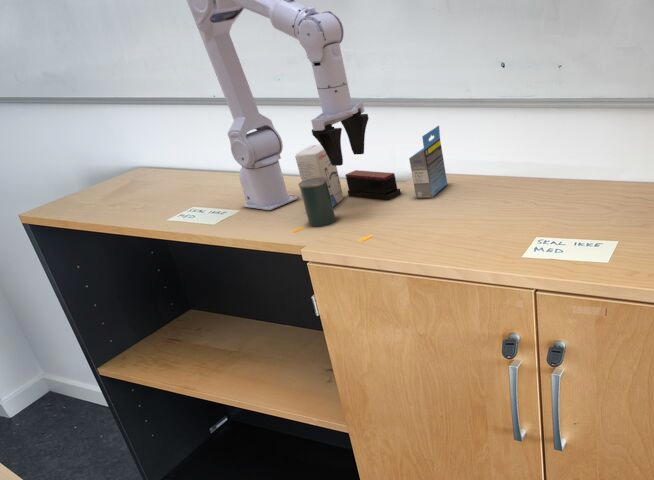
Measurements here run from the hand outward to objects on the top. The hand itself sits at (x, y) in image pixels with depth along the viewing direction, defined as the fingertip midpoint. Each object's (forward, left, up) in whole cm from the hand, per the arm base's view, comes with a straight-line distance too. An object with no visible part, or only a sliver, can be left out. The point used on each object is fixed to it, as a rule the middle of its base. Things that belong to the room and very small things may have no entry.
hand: (348, 159), depth 133 cm
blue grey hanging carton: (+8, +13, -10) cm, 19 cm away
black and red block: (-4, +8, -10) cm, 14 cm away
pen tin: (-2, -8, -10) cm, 13 cm away
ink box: (-10, 0, -10) cm, 15 cm away
